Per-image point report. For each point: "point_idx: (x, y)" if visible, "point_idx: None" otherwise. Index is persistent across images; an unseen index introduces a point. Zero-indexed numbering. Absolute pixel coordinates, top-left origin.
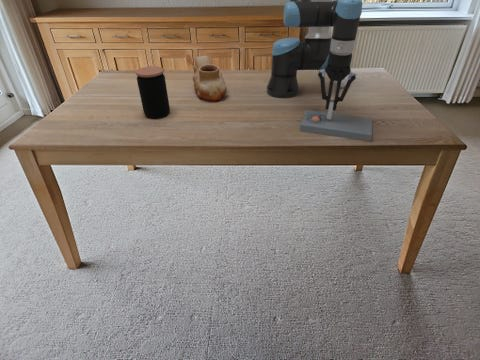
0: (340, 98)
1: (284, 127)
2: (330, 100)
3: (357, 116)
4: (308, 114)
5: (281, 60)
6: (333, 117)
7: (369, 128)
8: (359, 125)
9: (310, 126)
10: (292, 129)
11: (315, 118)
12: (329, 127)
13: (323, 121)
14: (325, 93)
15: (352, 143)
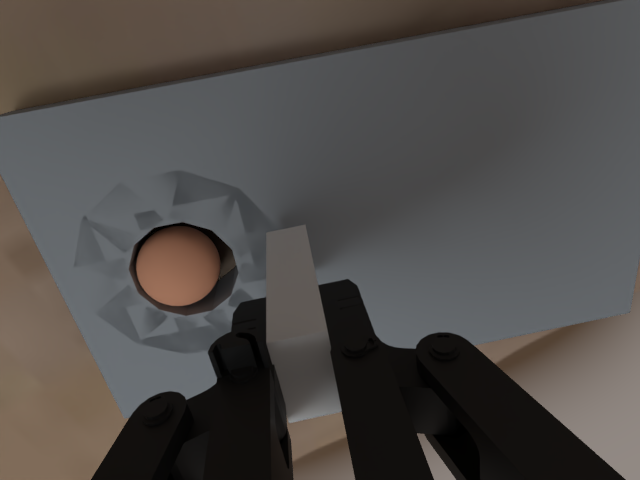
0: (442, 452)
1: (15, 390)
2: (277, 365)
3: (541, 18)
4: (67, 226)
5: None
6: (315, 170)
7: (629, 223)
8: (554, 212)
9: None
10: (83, 386)
11: (180, 301)
12: None
13: (259, 289)
14: (168, 469)
15: (492, 354)
